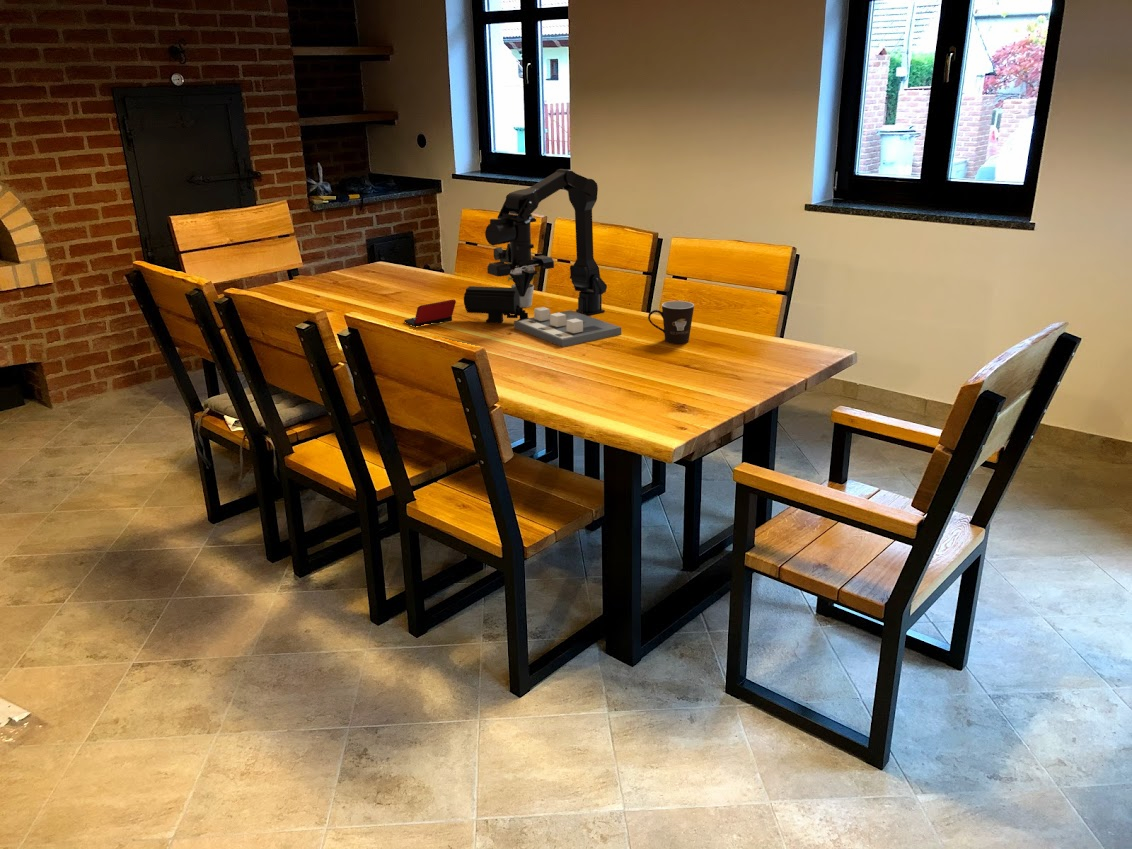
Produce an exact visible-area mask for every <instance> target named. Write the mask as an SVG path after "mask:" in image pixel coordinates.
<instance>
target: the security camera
mask: <svg viewBox="0 0 1132 849" xmlns="http://www.w3.org/2000/svg"><path fill="white" fill-rule="evenodd" d="M463 295H464V296H463V305H464V309H465V311H466V313H468V314H487V319H486V320H485V324H502V323H503V322H504V316H506V319H518V320H523V319H528V318H530V317H529V312H526V310H525V309H523V308H522V307H520V295H519V293H518V290H517V288H511V287H505V286H503V287H502V286H501V287H499V286H498V287H497V286H476V285H475V286H471V285H470V286H468V287H466V288H465V293H464V294H463ZM518 317H519V318H518Z"/></svg>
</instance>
